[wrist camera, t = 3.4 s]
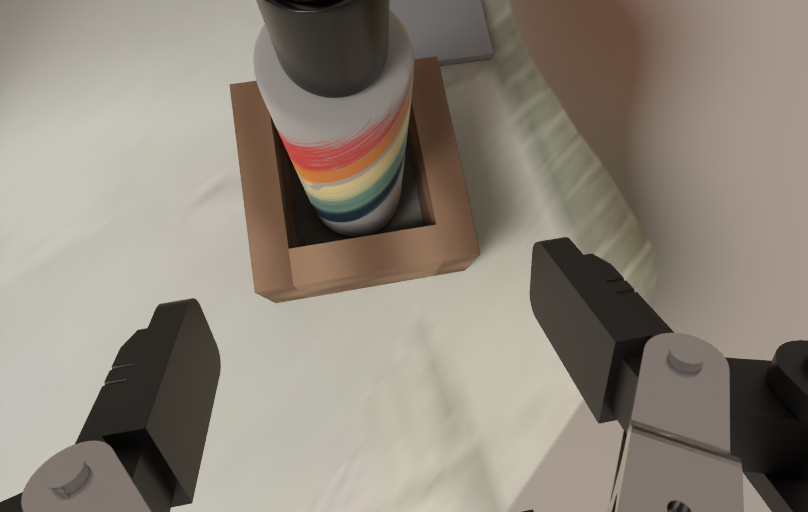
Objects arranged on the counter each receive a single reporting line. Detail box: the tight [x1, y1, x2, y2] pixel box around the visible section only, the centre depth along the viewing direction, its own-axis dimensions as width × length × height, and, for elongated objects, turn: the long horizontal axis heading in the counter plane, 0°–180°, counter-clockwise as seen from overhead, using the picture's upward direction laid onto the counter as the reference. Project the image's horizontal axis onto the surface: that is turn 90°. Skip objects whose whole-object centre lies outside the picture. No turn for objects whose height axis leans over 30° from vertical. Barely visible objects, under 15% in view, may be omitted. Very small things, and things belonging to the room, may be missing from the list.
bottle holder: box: [230, 56, 480, 303], centre depth 29 cm, size 12×12×5 cm
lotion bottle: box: [254, 0, 414, 237], centre depth 22 cm, size 6×6×20 cm
